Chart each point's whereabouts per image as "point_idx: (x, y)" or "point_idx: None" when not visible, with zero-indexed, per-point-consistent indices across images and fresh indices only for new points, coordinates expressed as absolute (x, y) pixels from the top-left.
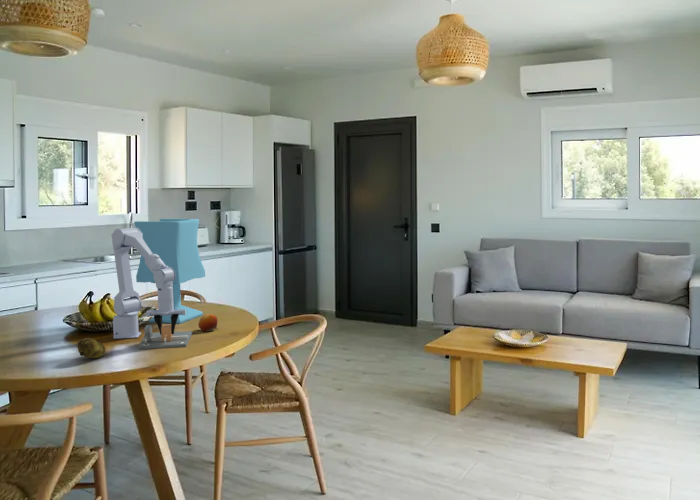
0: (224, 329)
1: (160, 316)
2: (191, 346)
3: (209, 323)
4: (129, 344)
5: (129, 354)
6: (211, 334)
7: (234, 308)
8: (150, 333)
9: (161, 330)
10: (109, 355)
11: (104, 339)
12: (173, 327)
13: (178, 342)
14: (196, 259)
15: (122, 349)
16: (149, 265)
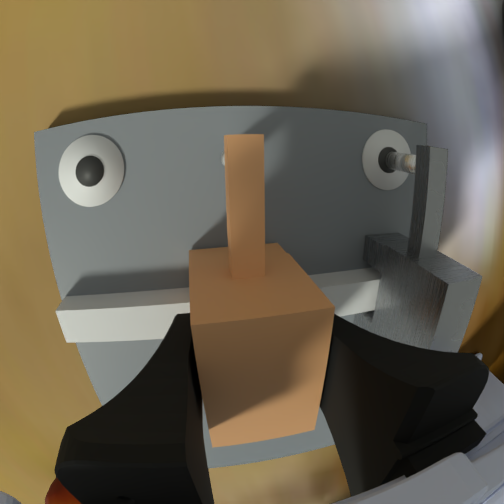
0: (35, 474)
1: (399, 465)
2: (11, 142)
3: (60, 496)
4: (454, 258)
5: (425, 7)
6: (32, 428)
7: None
8: (400, 285)
9: (314, 285)
10: (492, 42)
11: (496, 343)
12: (162, 351)
13: (106, 185)
14: None
15: (477, 144)
16: None
